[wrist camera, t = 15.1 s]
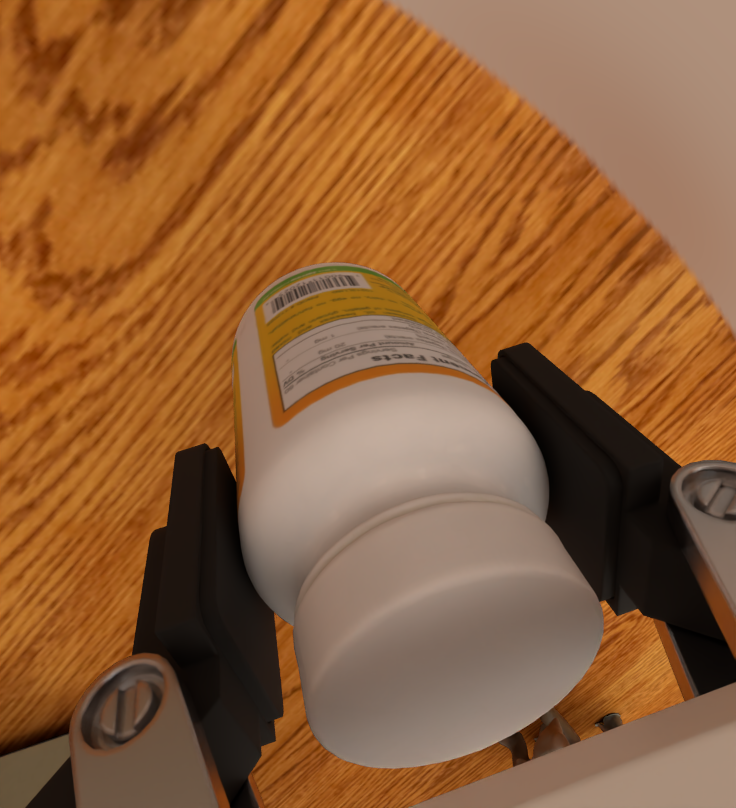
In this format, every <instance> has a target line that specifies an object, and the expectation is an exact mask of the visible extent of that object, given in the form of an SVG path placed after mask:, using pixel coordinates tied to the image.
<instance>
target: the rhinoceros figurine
mask: <svg viewBox="0 0 736 808" xmlns="http://www.w3.org/2000/svg"><path fill="white" fill-rule="evenodd" d="M620 717H621V716H620V715H619V714H610V715H609V716H605V717H604V718H603V719H604V720H603V722H604V725H603V724H602V725H601V724H600V723H597V724H595V726H599V727H600V728H601V730H602V731H603V732H606V731H609V730H611V729H614V728H616V727H619V726H622V725H623V724H622V720H621V718H620ZM540 719H541V721H542V722H543V723H542V724H541V726H540V731H539V737H537V738H534V740H535V742H536V743H535V745H534V749H533V757H532V759H529V757H528V751H527V746H526V743H525V740H524V738H523V735H522V734H521V733H520V732H517V733H514V734H513V735H511V736H509V737H507V738H505V739H503V740H501V741H499V743H500V744H502V745H504V746H506V747H508V748H509V749H510V750H511V752H512V761H513V767H515V766H517V765H520V764H523V763H525V762H528V761H530V760H533V759H536V758H538V757H541V756H543V755H546V754H549V753H551V752H554V751H556V750H559V749H562V748H564V747H567V746H569V745H572V744H575V743H577V742H580V738H579V736H578V735H577V734H576V733H575V731H574V730H573V729H572V727H571V726H570V725H569V724H568V722H567V721H566V720H565V719H564V718H563V717H562V716H561V715H560V714H559V712H558V711H557V710H556V709H555V708H554V707H553V708H552V709H550V710H549V711H548V712H546V713H545V714H543V715H542V716H541V717H540Z"/></svg>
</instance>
